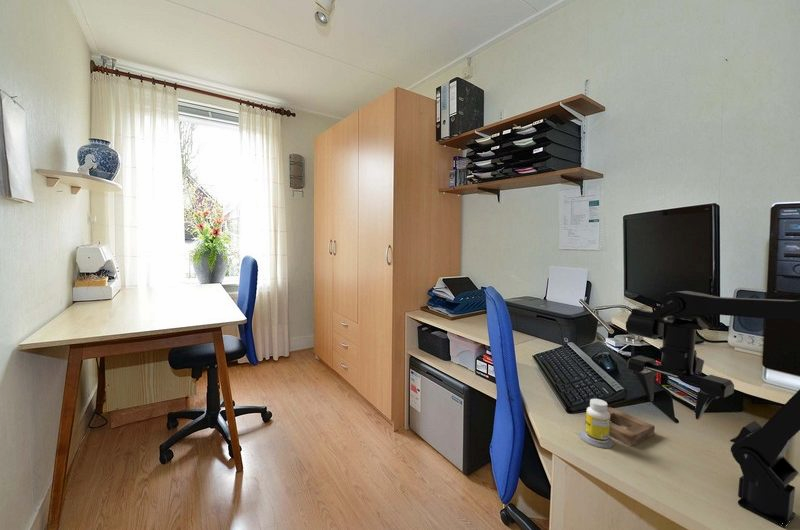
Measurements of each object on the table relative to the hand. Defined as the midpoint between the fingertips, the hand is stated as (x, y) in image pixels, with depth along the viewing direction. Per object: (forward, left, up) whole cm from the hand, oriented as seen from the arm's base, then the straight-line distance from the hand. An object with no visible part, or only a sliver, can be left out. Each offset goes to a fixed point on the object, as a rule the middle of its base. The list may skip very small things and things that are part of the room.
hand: (673, 409), depth 79 cm
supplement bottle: (+14, +6, -13) cm, 20 cm away
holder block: (+14, -5, -13) cm, 20 cm away
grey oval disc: (+14, +6, -13) cm, 20 cm away
